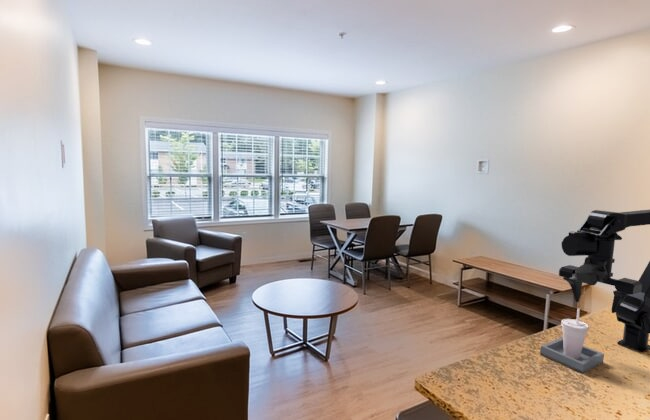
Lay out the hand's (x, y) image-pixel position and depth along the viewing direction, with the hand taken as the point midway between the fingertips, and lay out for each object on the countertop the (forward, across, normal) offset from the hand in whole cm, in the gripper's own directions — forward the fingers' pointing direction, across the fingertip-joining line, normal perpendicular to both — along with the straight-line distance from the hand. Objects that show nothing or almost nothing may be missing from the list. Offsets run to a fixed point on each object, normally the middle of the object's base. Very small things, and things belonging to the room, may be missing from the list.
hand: (594, 307), depth 106 cm
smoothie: (+13, 0, -10) cm, 16 cm away
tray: (+13, 0, -10) cm, 17 cm away
